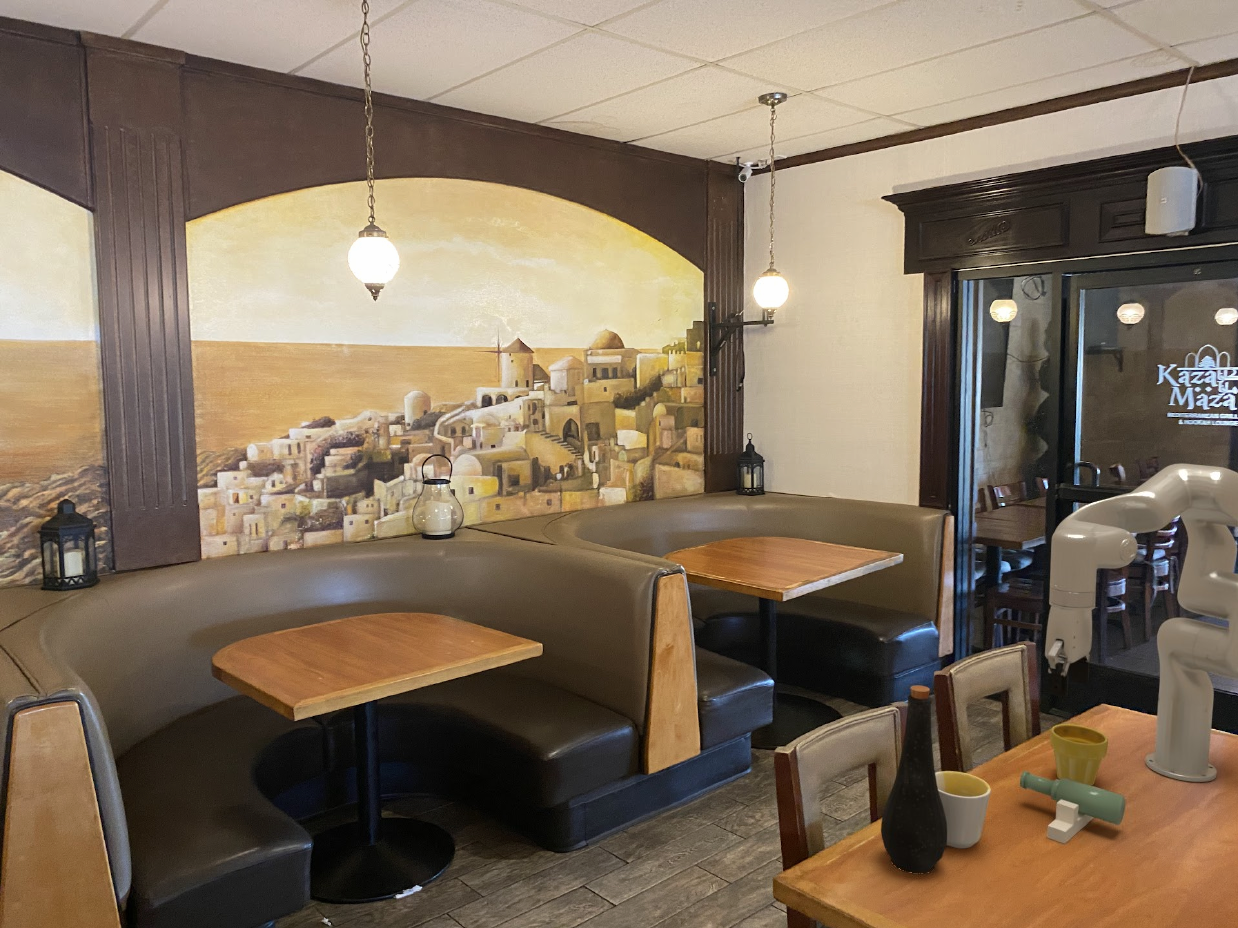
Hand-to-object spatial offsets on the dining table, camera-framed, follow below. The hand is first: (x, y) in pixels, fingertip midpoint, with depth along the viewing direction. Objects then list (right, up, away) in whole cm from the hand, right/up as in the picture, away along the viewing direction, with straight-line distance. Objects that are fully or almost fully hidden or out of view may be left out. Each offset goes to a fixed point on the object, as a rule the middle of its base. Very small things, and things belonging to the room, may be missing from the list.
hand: (1068, 688), depth 173 cm
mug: (-22, -25, -8) cm, 34 cm away
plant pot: (+9, -23, +16) cm, 29 cm away
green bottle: (+6, -20, -7) cm, 22 cm away
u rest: (0, -24, -2) cm, 24 cm away
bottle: (-34, -26, -16) cm, 45 cm away
